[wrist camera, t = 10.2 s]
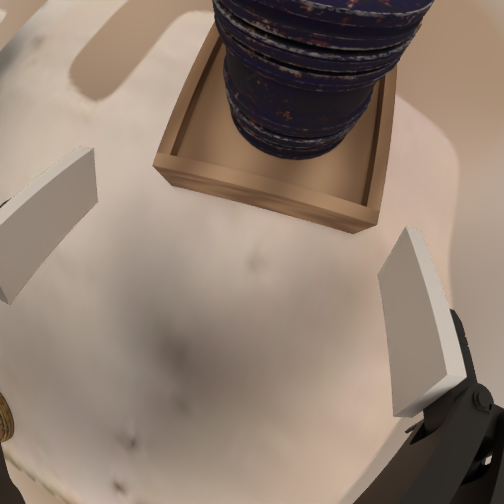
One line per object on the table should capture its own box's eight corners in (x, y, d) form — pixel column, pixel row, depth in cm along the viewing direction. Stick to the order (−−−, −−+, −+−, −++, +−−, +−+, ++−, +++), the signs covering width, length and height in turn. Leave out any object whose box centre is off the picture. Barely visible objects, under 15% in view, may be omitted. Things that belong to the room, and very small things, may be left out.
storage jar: (365, 84, 23) (439, -44, 8) (332, 182, 22) (437, 62, 7) (256, 44, 23) (257, -101, 8) (206, 134, 22) (154, -22, 7)
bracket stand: (171, 185, 26) (123, 134, 15) (225, 44, 27) (215, -35, 16) (353, 233, 26) (414, 210, 15) (378, 84, 27) (421, 17, 16)
